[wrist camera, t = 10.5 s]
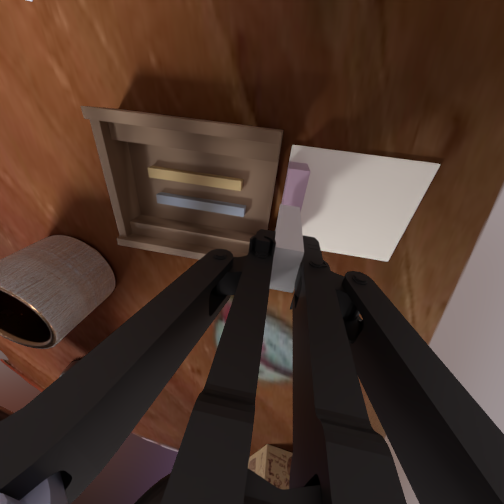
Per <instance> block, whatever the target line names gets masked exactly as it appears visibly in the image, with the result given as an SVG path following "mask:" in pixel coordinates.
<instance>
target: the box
mask: <svg viewBox="0 0 504 504" xmlns="http://www.w3.org/2000/svg"><path fill="white" fill-rule="evenodd" d="M292 454H293V453H291V452H289V451H286V450H283V449H280V448H277V447H274V446H271V445H268V444H267V445H265V446H264V447H263V448H261V449H260V450H259V451H258V452H256V453H255V454H254V455H252V456H251V457H250V458H249V463H248V469H250V470H251V471H253V472H255V473H256V474H258V475H259V476H261V477H262V478H264V479H265V480H267V481H268V482H270V483H271V484H273V485H274V486H276V487H277V488H279V489H289V479H290V467H291V461H292Z"/></svg>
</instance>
